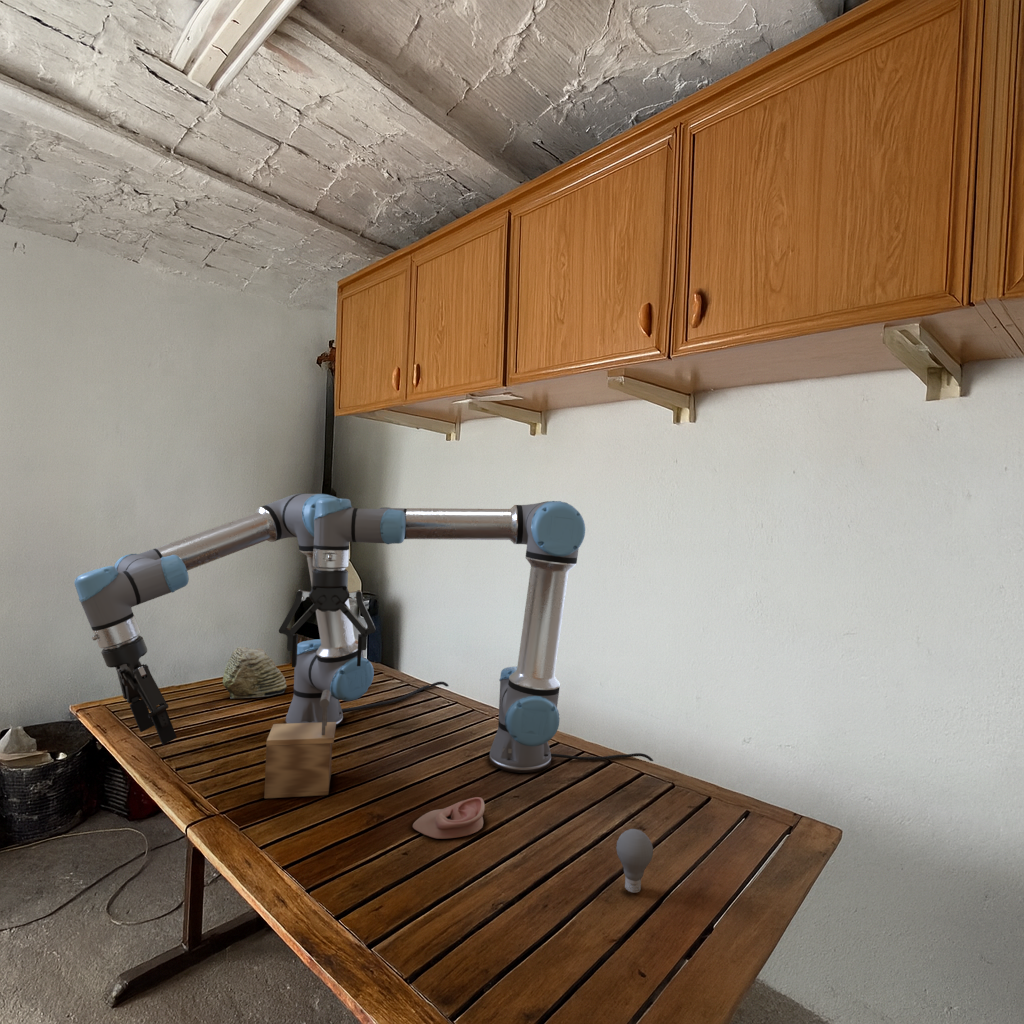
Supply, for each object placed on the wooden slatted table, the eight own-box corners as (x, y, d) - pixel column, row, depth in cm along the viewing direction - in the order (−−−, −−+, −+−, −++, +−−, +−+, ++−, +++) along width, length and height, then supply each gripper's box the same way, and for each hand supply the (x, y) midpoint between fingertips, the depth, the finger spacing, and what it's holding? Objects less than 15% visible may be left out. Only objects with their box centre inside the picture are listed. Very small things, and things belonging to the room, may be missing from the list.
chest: (330, 775, 144) (332, 727, 144) (328, 794, 135) (330, 743, 135) (271, 778, 141) (273, 729, 141) (264, 798, 132) (266, 746, 132)
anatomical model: (407, 813, 120) (427, 787, 131) (406, 834, 120) (426, 806, 131) (475, 823, 117) (489, 796, 129) (474, 845, 117) (488, 815, 129)
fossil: (218, 695, 195) (220, 647, 195) (278, 685, 208) (279, 640, 207) (228, 703, 189) (230, 653, 188) (289, 692, 201) (290, 645, 201)
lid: (335, 726, 144) (337, 687, 144) (333, 743, 135) (335, 700, 135) (273, 729, 141) (274, 688, 141) (266, 746, 132) (268, 702, 132)
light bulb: (610, 879, 108) (613, 822, 108) (644, 879, 109) (647, 822, 109) (619, 902, 102) (622, 840, 102) (655, 901, 103) (658, 840, 103)
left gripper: (84, 644, 134) (120, 733, 138) (119, 657, 117) (160, 757, 121) (122, 629, 140) (156, 714, 144) (161, 639, 123) (198, 736, 127)
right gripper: (267, 569, 132) (263, 670, 132) (389, 571, 137) (385, 668, 138) (272, 565, 139) (269, 661, 140) (388, 567, 145) (384, 660, 145)
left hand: (158, 734), depth 133 cm, fingers open, 13 cm apart
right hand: (326, 665), depth 139 cm, fingers open, 13 cm apart
